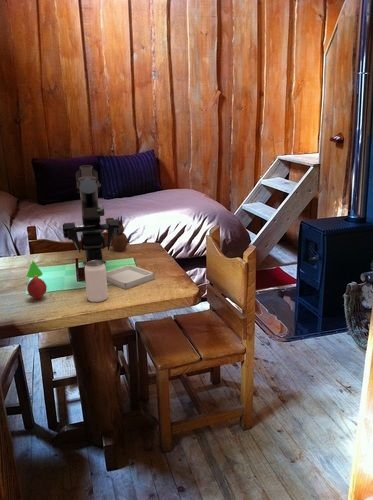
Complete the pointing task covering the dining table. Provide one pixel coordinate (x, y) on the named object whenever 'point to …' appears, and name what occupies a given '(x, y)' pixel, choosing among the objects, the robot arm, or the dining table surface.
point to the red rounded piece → (36, 287)
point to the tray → (129, 276)
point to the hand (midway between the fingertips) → (94, 251)
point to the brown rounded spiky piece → (119, 239)
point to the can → (96, 281)
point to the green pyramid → (34, 271)
